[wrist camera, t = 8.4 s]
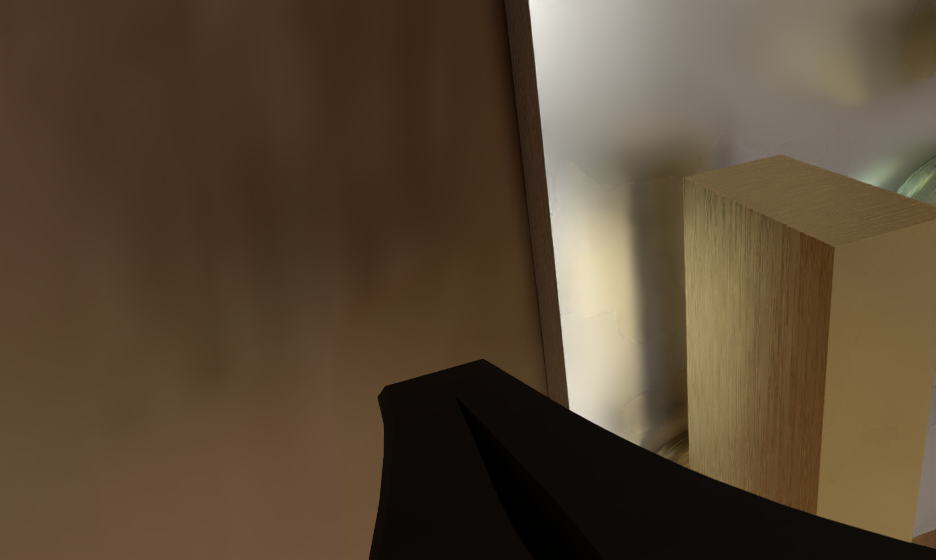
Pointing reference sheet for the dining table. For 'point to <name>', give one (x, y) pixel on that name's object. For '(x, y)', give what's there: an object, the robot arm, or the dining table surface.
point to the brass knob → (809, 340)
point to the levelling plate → (693, 164)
